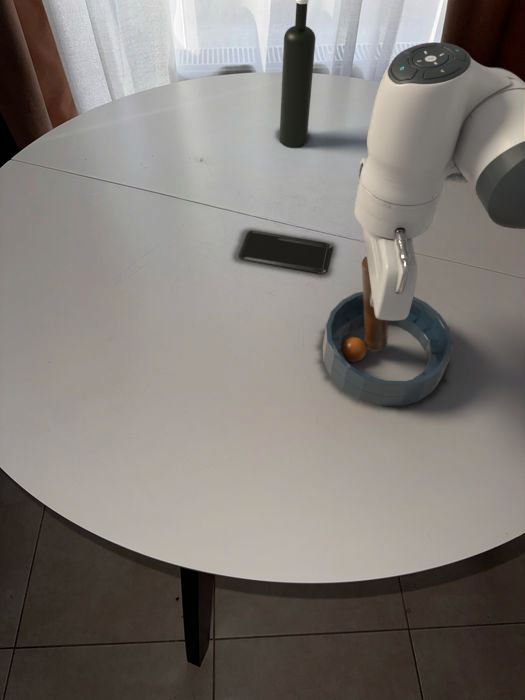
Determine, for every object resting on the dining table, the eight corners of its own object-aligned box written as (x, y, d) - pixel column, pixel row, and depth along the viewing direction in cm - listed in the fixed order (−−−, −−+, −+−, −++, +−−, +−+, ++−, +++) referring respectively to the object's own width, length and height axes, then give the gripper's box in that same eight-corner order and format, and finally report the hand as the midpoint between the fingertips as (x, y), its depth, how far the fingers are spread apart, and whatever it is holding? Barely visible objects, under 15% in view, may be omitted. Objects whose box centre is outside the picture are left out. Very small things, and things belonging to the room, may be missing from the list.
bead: (363, 331, 84) (358, 335, 81) (371, 354, 85) (367, 359, 81) (340, 339, 86) (335, 343, 83) (348, 362, 86) (343, 367, 83)
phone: (325, 274, 95) (236, 258, 97) (324, 279, 96) (236, 263, 98) (332, 243, 100) (248, 228, 102) (332, 248, 100) (248, 233, 102)
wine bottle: (286, 130, 124) (295, -29, 101) (311, 137, 123) (325, -23, 99) (274, 143, 121) (280, -18, 97) (299, 150, 119) (312, -12, 96)
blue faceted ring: (430, 317, 91) (440, 290, 86) (451, 411, 80) (463, 386, 75) (319, 314, 91) (323, 287, 86) (325, 408, 80) (330, 383, 75)
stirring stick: (387, 332, 85) (387, 252, 72) (388, 350, 83) (388, 271, 70) (364, 333, 85) (361, 254, 73) (365, 351, 83) (362, 272, 71)
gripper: (440, 267, 58) (409, 353, 69) (411, 152, 71) (389, 239, 82) (377, 266, 58) (357, 351, 69) (359, 150, 71) (344, 238, 82)
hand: (374, 290), depth 75 cm, fingers closed on stirring stick, 3 cm apart
